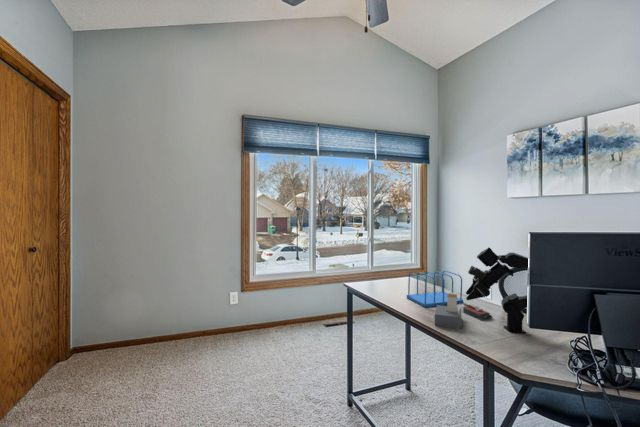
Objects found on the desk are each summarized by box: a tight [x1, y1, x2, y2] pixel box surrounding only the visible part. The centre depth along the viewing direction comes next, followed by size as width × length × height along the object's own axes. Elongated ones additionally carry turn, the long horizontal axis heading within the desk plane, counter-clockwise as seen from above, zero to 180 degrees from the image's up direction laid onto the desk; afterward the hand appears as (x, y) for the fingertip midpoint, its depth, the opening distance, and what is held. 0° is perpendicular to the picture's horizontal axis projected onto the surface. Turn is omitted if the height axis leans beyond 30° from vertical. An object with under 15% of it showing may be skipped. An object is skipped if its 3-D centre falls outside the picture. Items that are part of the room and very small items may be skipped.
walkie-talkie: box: [462, 303, 493, 320], centre depth 162 cm, size 9×4×20 cm
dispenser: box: [434, 305, 463, 330], centre depth 150 cm, size 11×14×6 cm
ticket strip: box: [446, 292, 458, 313], centre depth 149 cm, size 4×1×13 cm, turn 67°
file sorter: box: [406, 270, 464, 308], centre depth 182 cm, size 25×17×15 cm
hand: (466, 296), depth 146 cm, fingers open, 9 cm apart
